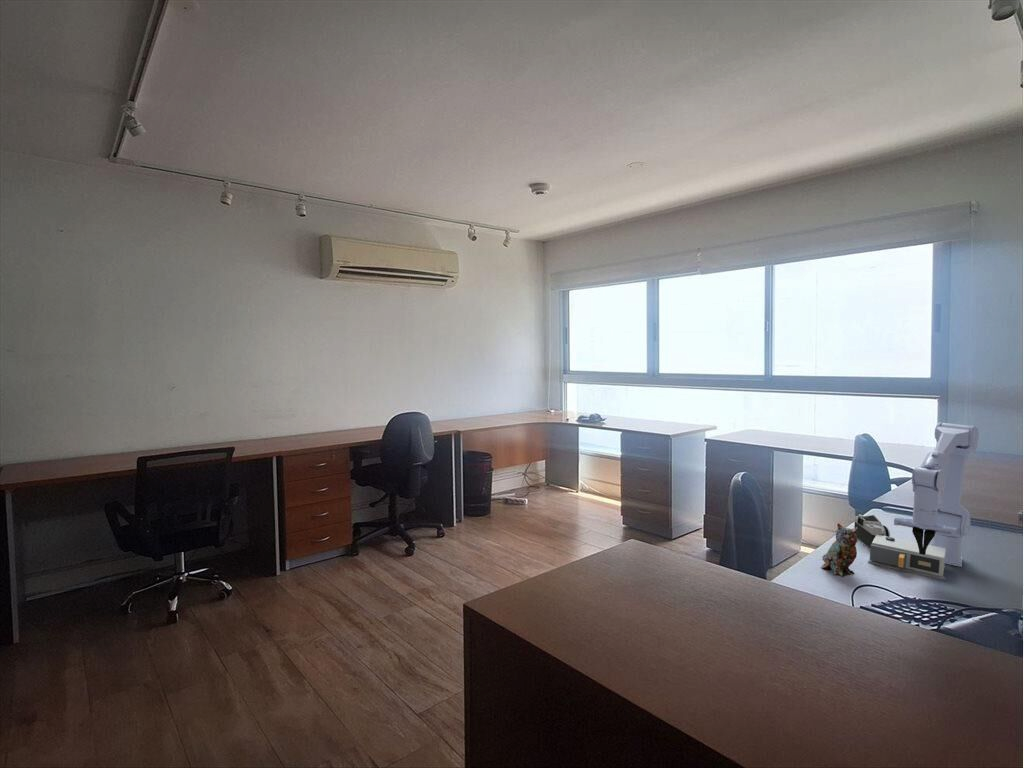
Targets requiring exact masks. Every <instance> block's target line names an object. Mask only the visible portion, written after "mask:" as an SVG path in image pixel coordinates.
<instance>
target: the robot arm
mask: <svg viewBox="0 0 1024 768" xmlns="http://www.w3.org/2000/svg"><path fill="white" fill-rule="evenodd" d="M934 437H935V438H934V439H935V440H936V442H937V443H936V445H935V448H934V451H930V452H928V453H927V454H926V456H925V458H924V460H923V462H922V463H921V465H920V467H917V468H914V469H913V472H912V474H911V484H912V492H914V495H913V505H912V506H913V510H912V519H911V518H904V517H903V518H901V517H898V516H897V517H894V518H893V519H894V520H893V525H894V526H902V527H906V528H911V529H912V531H911V532H912V535H913V536H914V539H915V542H917V544H918V548H919V554H922V555H925V554H926V549H927V547H928V545H930V543H931V542H932V546H937V547H942V548H946V555H945V564H946V565H951V566H955V567H962V566H963V556H962V546H963V537H965V536H967V535H969V533H970V530H971V513H970V510H968V509H967V508H966V507H964V505H962V504H961V501H962V495H963V488H964V483H965V482H964V481H965V476H966V467H967V462H968V461H967V460H968V458H969V455H970V454H971V453H975V452H976V451H977V449H978V443H979V429H978V427H977V426H976V425H967V424H957V423H949V422H947V423H946V422H941V421H940V422H938V423H937V424H936V425H935V428H934ZM941 489H942V497H941V501H939V497H940V491H941ZM955 513H956V514H955Z"/></svg>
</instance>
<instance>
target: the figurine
mask: <svg viewBox="0 0 1024 768" xmlns="http://www.w3.org/2000/svg"><path fill="white" fill-rule="evenodd" d="M857 529H858V528H857V527H856V528H854V527H853V528H848V527H844V526H843V525H842V524H840V523H839V522H838V523H837V528H836V530H835V541H834V542H832V544H831V545H830V547H829V548H828V550H827V552H826V553H825V554H824V555H822V557H821V558H822V561H823V562H824V564H822V565H821V566H820V569H822V570H826V571H829V572H830V571H831V572H833V575H834V576H839V577H841V578H842V577H845V576H846V577H847V576H850V575H854V574H855V571H853V570H851V569H850V566H851V565H853V563H854V562H855V559H856V558H857V554H858V551H857V547H856V545H857V543H858V541H859V540H857V539H858V536H857V533H856V531H857Z"/></svg>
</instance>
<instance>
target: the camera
mask: <svg viewBox="0 0 1024 768" xmlns="http://www.w3.org/2000/svg"><path fill="white" fill-rule="evenodd" d="M853 522H854V526H853V528H856V527H857V528H858V529H857V531H856V533H857V536H858V541H859V543H861V544H862V543H863V544H862V545H863V546H865V547H866V548H867V547H868V548H867V549H869V550H870V547H871V545H872V542H873V540H874V538H875V536H876V535H882V536H887V537H891V533H890V532H891V531H890V529H889V528H888V527H887V526H886V525H883V524H882V522H881V521H880V520H879V519H878V518H877V517H876V516H875V514H872V515H865V516H864V515H863V514H857V516H855V517H854V521H853Z"/></svg>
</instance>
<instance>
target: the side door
mask: <svg viewBox="0 0 1024 768" xmlns="http://www.w3.org/2000/svg"><path fill="white" fill-rule="evenodd" d="M906 556H907V552H904V551H899V550H895V549H890V548H885V547H881V546H876V545H871V547H870V549H869V560H873V561H877V562H882V563H886V564H890V565H895V566H898V567H901V568H906Z"/></svg>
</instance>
